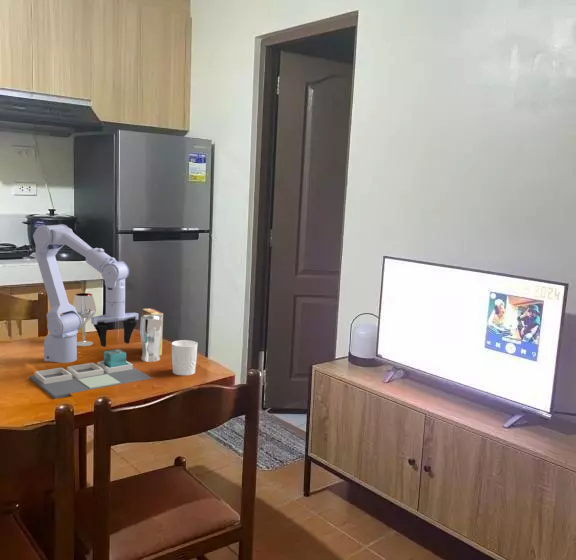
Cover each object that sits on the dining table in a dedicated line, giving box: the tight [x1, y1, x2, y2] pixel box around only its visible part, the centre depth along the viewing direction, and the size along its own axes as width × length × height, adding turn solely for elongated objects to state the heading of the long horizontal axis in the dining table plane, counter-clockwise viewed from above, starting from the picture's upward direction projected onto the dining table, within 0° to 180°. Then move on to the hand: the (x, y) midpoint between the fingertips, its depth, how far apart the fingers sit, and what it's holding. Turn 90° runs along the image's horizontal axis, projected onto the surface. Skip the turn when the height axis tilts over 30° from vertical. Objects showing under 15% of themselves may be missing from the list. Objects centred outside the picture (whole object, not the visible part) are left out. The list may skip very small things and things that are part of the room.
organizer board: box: [29, 360, 153, 400], centre depth 180 cm, size 20×29×2 cm
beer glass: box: [139, 315, 162, 363], centre depth 200 cm, size 7×7×15 cm
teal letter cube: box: [103, 349, 127, 368], centre depth 189 cm, size 5×5×5 cm
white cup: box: [171, 339, 198, 376], centre depth 188 cm, size 8×8×10 cm
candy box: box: [141, 308, 164, 356], centre depth 208 cm, size 9×4×15 cm, turn 36°
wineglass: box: [71, 292, 97, 347], centre depth 216 cm, size 8×8×18 cm
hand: (115, 344), depth 188 cm, fingers open, 7 cm apart
